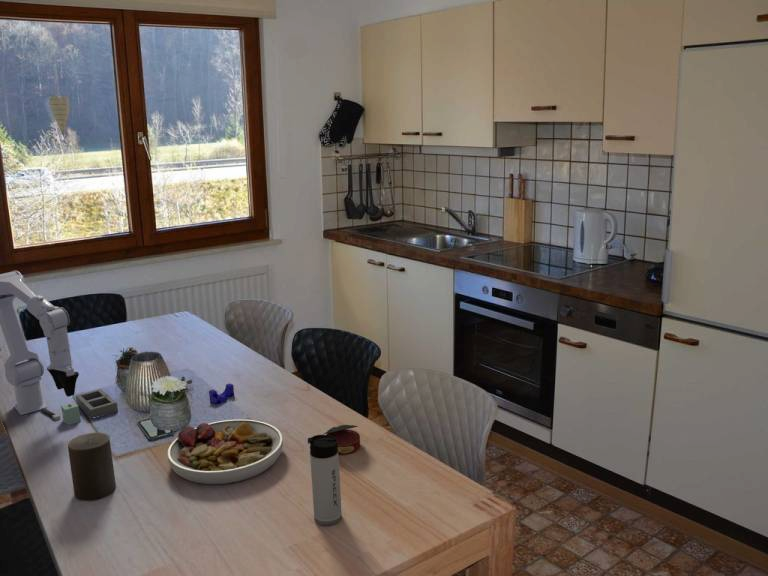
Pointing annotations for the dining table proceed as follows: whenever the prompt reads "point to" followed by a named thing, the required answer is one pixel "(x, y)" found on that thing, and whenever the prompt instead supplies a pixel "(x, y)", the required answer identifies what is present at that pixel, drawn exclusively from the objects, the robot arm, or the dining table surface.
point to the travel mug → (325, 479)
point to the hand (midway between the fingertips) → (65, 392)
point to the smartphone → (153, 430)
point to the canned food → (345, 439)
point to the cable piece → (51, 414)
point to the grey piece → (96, 403)
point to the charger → (70, 413)
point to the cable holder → (222, 397)
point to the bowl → (225, 451)
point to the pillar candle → (91, 466)
